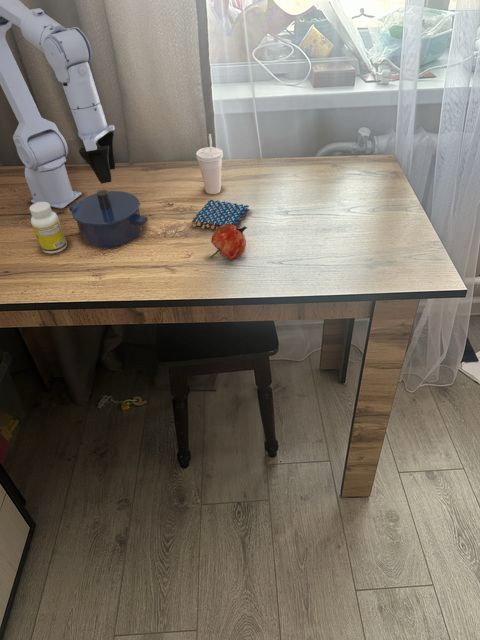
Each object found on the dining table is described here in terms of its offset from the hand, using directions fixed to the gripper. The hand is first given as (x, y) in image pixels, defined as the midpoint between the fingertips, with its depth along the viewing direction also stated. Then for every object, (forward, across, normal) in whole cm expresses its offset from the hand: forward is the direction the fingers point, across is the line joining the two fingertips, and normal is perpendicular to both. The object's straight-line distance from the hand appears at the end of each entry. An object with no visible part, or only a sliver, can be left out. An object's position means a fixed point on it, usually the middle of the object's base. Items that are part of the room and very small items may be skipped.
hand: (108, 175), depth 104 cm
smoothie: (+14, +17, -20) cm, 30 cm away
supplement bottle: (+12, -3, +15) cm, 20 cm away
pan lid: (+7, +1, +3) cm, 8 cm away
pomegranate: (+17, -12, -22) cm, 30 cm away
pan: (+13, +2, +3) cm, 13 cm away
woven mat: (+15, +3, -21) cm, 26 cm away
